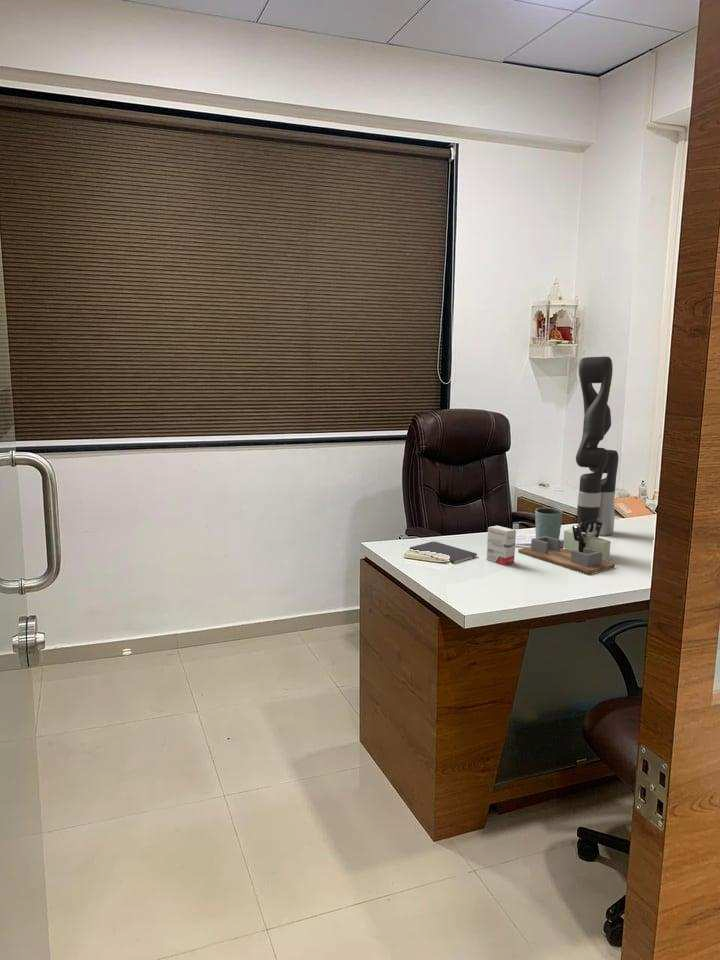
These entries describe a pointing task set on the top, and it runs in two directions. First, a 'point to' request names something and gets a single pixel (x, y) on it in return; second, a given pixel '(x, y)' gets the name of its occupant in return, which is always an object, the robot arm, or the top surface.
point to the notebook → (446, 551)
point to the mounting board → (565, 560)
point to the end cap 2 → (586, 557)
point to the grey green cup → (548, 522)
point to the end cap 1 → (545, 544)
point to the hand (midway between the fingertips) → (585, 551)
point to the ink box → (501, 545)
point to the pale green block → (587, 544)
